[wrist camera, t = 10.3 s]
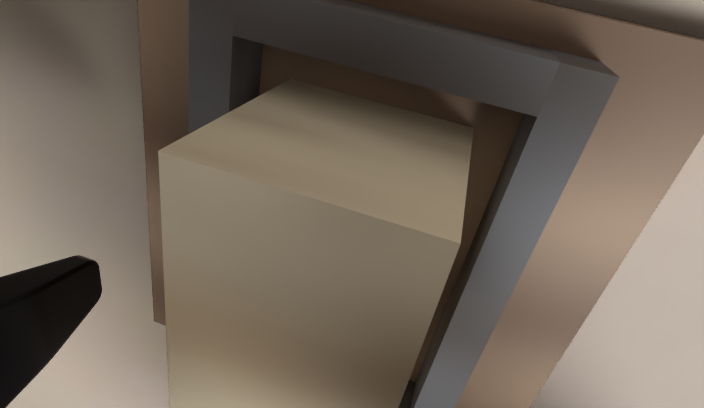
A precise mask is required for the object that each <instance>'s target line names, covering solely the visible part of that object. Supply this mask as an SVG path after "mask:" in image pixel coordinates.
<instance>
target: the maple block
mask: <svg viewBox="0 0 704 408" xmlns="http://www.w3.org/2000/svg"><path fill="white" fill-rule="evenodd" d="M473 130H474V128H472V127H469V126H465V125H461V124H457V123H454V122H450V121H446V120H443V119H439V118H435V117H431V116H428V115H424V114H420V113H416V112H413V111H409V110H405V109H401V108H398V107H394V106H390V105H386V104H383V103H379V102H375V101H371V100H368V99H364V98H360V97H356V96H353V95H349V94H345V93H341V92H338V91H334V90H330V89H326V88H323V87H319V86H315V85H311V84H308V83H304V82H300V81H296V80H293V79H289V80H288V81H286V82H284V83H282V84H280V85H278V86H277V87H275V88H273V89H271V90H269V91H267V92H265V93H264V94H262V95H260V96H258V97H256V98H254V99H253V100H251V101H249V102H247V103H245V104H243V105H242V106H240V107H238V108H236V109H234V110H232V111H231V112H229V113H227V114H225V115H223V116H221V117H219V118H218V119H216V120H214V121H212V122H210V123H208V124H207V125H205V126H203V127H201V128H199V129H197V130H196V131H194V132H192V133H190V134H188V135H186V136H184V137H183V138H181V139H179V140H177V141H175V142H173V143H172V144H170V145H168V146H166V147H164V148H162V149H161V150H159V151H158V159H159V181H160V204H161V226H162V248H163V271H164V293H165V315H166V338H167V360H168V382H169V405H170V408H399V405H400V402H401V400H402V397H403V394H404V392H405V389H406V386H407V384H408V381H409V379H410V376H411V373H412V371H413V368H414V365H415V363H416V360H417V357H418V355H419V352H420V350H421V347H422V344H423V342H424V339H425V336H426V334H427V331H428V328H429V326H430V323H431V321H432V318H433V315H434V313H435V310H436V307H437V305H438V302H439V299H440V297H441V294H442V292H443V289H444V286H445V284H446V281H447V278H448V276H449V273H450V270H451V268H452V265H453V263H454V260H455V257H456V255H457V252H458V249H459V247H460V244H461V236H462V227H463V219H464V210H465V201H466V192H467V183H468V174H469V166H470V157H471V148H472V139H473Z"/></svg>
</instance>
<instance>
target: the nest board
mask: <svg viewBox="0 0 704 408" xmlns="http://www.w3.org/2000/svg"><path fill="white" fill-rule="evenodd" d="M137 7H138V26H139V45H140V64H141V83H142V102H143V121H144V140H145V159H146V177H147V196H148V215H149V234H150V253H151V272H152V291H153V310H154V321H155V322H158V323H160V324H163V325H166V315H165V293H164V271H163V248H162V226H161V204H160V181H159V159H158V151H159V150H161V149H162V148H164V147H166V146H168V145H170V144H172V143H173V142H175V141H177V140H179V139H181V138H183V137H184V136H186V135H188V134H190V133H192V132H194V131H196V130H197V129H199V128H201V127H203V126H205V125H207V124H208V123H210V122H212V121H214V120H216V119H218V118H219V117H221V116H223V115H225V114H227V113H229V112H231V111H232V110H234V109H236V108H238V107H240V106H242V105H243V104H245V103H247V102H249V101H251V100H253V99H254V98H256V97H258V96H260V95H262V94H264V93H265V92H267V91H269V90H271V89H273V88H275V87H277V86H278V85H280V84H282V83H284V82H286V81H288V80H289V79H293V80H296V81H300V82H304V83H308V84H311V85H315V86H319V87H323V88H326V89H330V90H334V91H338V92H341V93H345V94H349V95H353V96H356V97H360V98H364V99H368V100H371V101H375V102H379V103H383V104H386V105H390V106H394V107H398V108H401V109H405V110H409V111H413V112H416V113H420V114H424V115H428V116H431V117H435V118H439V119H443V120H446V121H450V122H454V123H457V124H461V125H465V126H469V127H472V128H474V130H473V139H472V148H471V157H470V166H469V174H468V183H467V192H466V201H465V210H464V219H463V227H462V236H461V244H460V247H459V249H458V252H457V255H456V257H455V260H454V263H453V265H452V268H451V270H450V273H449V276H448V278H447V281H446V284H445V286H444V289H443V292H442V294H441V297H440V299H439V302H438V305H437V307H436V310H435V313H434V315H433V318H432V321H431V323H430V326H429V328H428V331H427V334H426V336H425V339H424V342H423V344H422V347H421V350H420V352H419V355H418V357H417V360H416V363H415V365H414V368H413V371H412V373H411V376H410V379H409V381H408V384H407V386H406V389H405V392H404V394H403V397H402V400H401V402H400V405H399V408H529V407H530V405H531V404H532V402H533V401H534V399H535V398H536V396H537V394H538V393H539V391H540V390H541V388H542V387H543V385H544V383H545V382H546V380H547V379H548V377H549V376H550V374H551V372H552V371H553V369H554V368H555V366H556V365H557V363H558V362H559V360H560V358H561V357H562V355H563V354H564V352H565V351H566V349H567V347H568V346H569V344H570V343H571V341H572V340H573V338H574V336H575V335H576V333H577V332H578V330H579V329H580V327H581V325H582V324H583V322H584V321H585V319H586V318H587V316H588V315H589V313H590V311H591V310H592V308H593V307H594V305H595V304H596V302H597V300H598V299H599V297H600V296H601V294H602V293H603V291H604V289H605V288H606V286H607V285H608V283H609V282H610V280H611V279H612V277H613V275H614V274H615V272H616V271H617V269H618V268H619V266H620V264H621V263H622V261H623V260H624V258H625V257H626V255H627V253H628V252H629V250H630V249H631V247H632V246H633V244H634V242H635V241H636V239H637V238H638V236H639V235H640V233H641V232H642V230H643V228H644V227H645V225H646V224H647V222H648V221H649V219H650V217H651V216H652V214H653V213H654V211H655V210H656V208H657V206H658V205H659V203H660V202H661V200H662V199H663V197H664V196H665V194H666V192H667V191H668V189H669V188H670V186H671V185H672V183H673V181H674V180H675V178H676V177H677V175H678V174H679V172H680V170H681V169H682V167H683V166H684V164H685V163H686V161H687V159H688V158H689V156H690V155H691V153H692V152H693V150H694V149H695V147H696V145H697V144H698V142H699V141H700V139H701V138H702V136H703V134H704V39H700V38H696V37H692V36H687V35H683V34H679V33H674V32H670V31H666V30H661V29H657V28H653V27H648V26H644V25H640V24H635V23H631V22H627V21H622V20H618V19H613V18H609V17H605V16H600V15H596V14H592V13H587V12H583V11H579V10H574V9H570V8H566V7H561V6H557V5H553V4H548V3H544V2H540V1H535V0H137Z"/></svg>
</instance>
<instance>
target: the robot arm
mask: <svg viewBox="0 0 704 408" xmlns="http://www.w3.org/2000/svg"><path fill="white" fill-rule="evenodd" d="M101 293H102V286H101V278H100V271H99V265H98V263H97V262H96V261H94V260H92V259H89V258H86V257H83V256H72V257H69V258H65V259H62V260H58V261H55V262H51V263H48V264H44V265H41V266H37V267H34V268H30V269H27V270H24V271H20V272H17V273H13V274H10V275H6V276H3V277H0V408H6V407H7V406H8V405H9V404H10V403H11V401H12V400H13V399H14V398H15V397H16V396H17V395H18V394H19V393H20V392H21V391H22V390H23V389H24V388H25V387H26V386H27V385H28V384H29V383H30V382H31V381H32V380H33V379H34V378H35V376H36V375H37V374H38V373H39V372H40V371H41V370H42V369H43V368H44V367H45V366H46V365H47V364H48V363H49V361H50V360H51V359H52V358H53V357H54V355H55V354H56V353H57V352H58V351H59V349H60V348H61V347H62V346H63V344H64V343H65V342H66V341H67V339H68V338H69V337H70V336H71V334H72V333H73V332H74V331H75V329H76V328H77V327H78V326H79V324H80V323H81V322H82V321H83V319H84V318H85V317H86V316H87V314H88V313H89V312H90V311H91V309H92V308H93V307H94V306H95V304H96V303H97V302H98V300H99V298H100V296H101Z"/></svg>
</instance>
